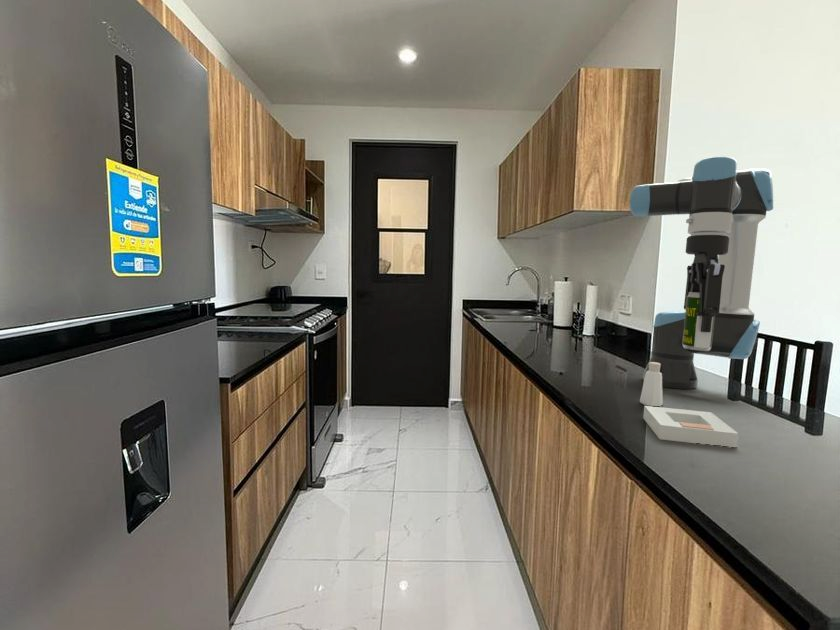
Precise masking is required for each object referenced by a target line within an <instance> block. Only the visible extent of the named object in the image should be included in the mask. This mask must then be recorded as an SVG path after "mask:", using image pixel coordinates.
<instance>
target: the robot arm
mask: <svg viewBox="0 0 840 630" xmlns="http://www.w3.org/2000/svg"><path fill="white" fill-rule="evenodd" d="M772 175H773V174H772V172H771V170H770V169H767V168H748V169H740V170H738V160H737V159H736V158H734V157H732V156H714V157H707V158H702V159H700V160H699V161H697V162H696V163H695V164H694V168H693V174H692V176H690V177H687V178H682V179H679V180H677V181H675V182H661V183H651V184H650V183H646V184H641V185H636V186H634V187H632V189H631V192H630V195H629V210H630V212H631V213H630V214H632V216H634V217H655V216H656V217H657V216H672V215H673V216H674V215H689V216H688V217H689V218H687V219H686V220H685V222H686V224H688V226H687V234H689V236H687V238H686V244H685V253H686V254H687V255H694V258H693V262H692V263H691V265H687V267H686V271H687V273H686V276H687V277H686V285H685V294H684V304H683V309H684V310H674V311H671V310H670V311H660V312H658V313H657V314H656V315H655V317H654V324H653V326H652V327H653V334H652V344H651V345H652V346H651V356H650V359H649V361H648V363H647V365H646V367H645V370H644V371H643V375H642V376H643V377H642V381H644V379H645V374H646V372H647V371H649V362H657V363H660V364H661V366H660V371H659V372H660V373H662V388H670V389H679V390H693V388H694V389H697V388H698V384H699V378H698V376H697V372H696V368H695V364H694V356H695V354H697V355H704V356H705V355H706V356H712V357H713V356H714V357H719V358H725V359H729V360H731V359H737V360H745V359H748V358H749V357H750V356H751V354H752V352H753V349H754V346H755V344H756V341H757V337H758V333H759V328H760V324H761V322H760V321H759V320H757V319H755V313H754V312H753V311H752V309H750V308H749V305H750V299H751V289H752V279H753V272H754V264H755V263H754V262H755V255H756V254H755V253H756V244H757V238H758V237H757V236H758V229H759V228H758V227H759V224H760V223H761V222H762V221H763V220H764V219H766V217H767V212H770V211H773V210H774V187H773V186H774V185H773V176H772ZM689 292H699V293H700V312H698V313H696V316H697V323H696V332H695V342H694V347H699V348H710V343H711V334H712V325H713V317H714V316H715V321H714V330H713V339H712V347H711V349H710V350H709V351H699V350H691V349H686V348H684V347H683V345H682V341H683V331H684V321H685V311H686V301H687V296H688V294H689Z"/></svg>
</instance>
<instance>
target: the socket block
mask: <svg viewBox="0 0 840 630" xmlns="http://www.w3.org/2000/svg"><path fill="white" fill-rule="evenodd" d="M642 416H643V417H642V418H643V420H644V421H645V422H646V423H647V425H648V426H649V428H650V429H651V430H652V431H653V433H654V434H655V435H656V437H657V438H658V439H659V440H662V441H663V440H665V441H670V442H671V441H673V442H681V443H691V444H696V443H700V444H699V445H705V444H710V445H709V446H713V445H721V446H720V447H722V446H729V447H728V448H731V447H737V448H738V443H739V432H737V431H736V430H735V429H733V428H732V427H730V426H729V425H728V424H727V423H725V422H724V421H723V420H722V419H720V418H719V417H718V416H717V415H716V414H714V413H713V412H712V411H711V412H710V411H702V410H701V411H700V410H699V411H698V410H692V409H691V410H689V409H682V408H681V409H680V408H671V407H670V408H669V407H662V406H660V407H653V406H648V405H644V406H643V415H642Z"/></svg>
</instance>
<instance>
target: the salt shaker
mask: <svg viewBox="0 0 840 630" xmlns="http://www.w3.org/2000/svg"><path fill="white" fill-rule="evenodd" d="M648 363H649V371H647V372H646V374H645V379H644V380H643V385H642V389H641V393H640V394H641V395H640V397H639V398H640V399H639V403H640V404H642V405H644V406H652V407H653V406H660V407H662V406H663V403H664V401H663V386H662V373H660V372H659V371H660V366H661V364H660V363H657V362H649V361H648ZM661 405H662V406H661Z"/></svg>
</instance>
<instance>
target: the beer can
mask: <svg viewBox="0 0 840 630" xmlns="http://www.w3.org/2000/svg"><path fill="white" fill-rule="evenodd" d="M684 311H685V321H684V331H683V341H682V345H683V347H684V348H686V349H691V350H699V351H709V350H710V349H711V347H712V339H713V330H714V321H715V316H714V317H713V325H712V334H711V343H710V348H699V347H694V342H695V332H696V323H697V316H696V313H698V312H700V293H699V292H689V294H688V296H687V301H686V309H685V310H684Z"/></svg>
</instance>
